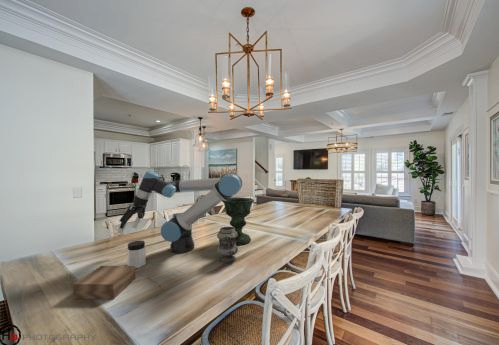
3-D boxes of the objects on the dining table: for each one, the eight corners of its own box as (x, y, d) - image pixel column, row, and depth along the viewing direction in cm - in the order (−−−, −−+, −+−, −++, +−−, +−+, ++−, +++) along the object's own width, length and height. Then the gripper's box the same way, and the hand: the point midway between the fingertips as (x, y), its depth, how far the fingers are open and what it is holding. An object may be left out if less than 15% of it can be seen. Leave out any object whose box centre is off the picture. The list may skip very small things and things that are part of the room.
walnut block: (135, 278, 101) (135, 265, 101) (113, 299, 85) (113, 284, 85) (101, 278, 101) (101, 265, 101) (73, 299, 85) (73, 284, 85)
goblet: (257, 245, 146) (257, 201, 145) (224, 248, 140) (224, 202, 140) (249, 235, 167) (249, 196, 166) (220, 237, 162) (220, 197, 161)
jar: (124, 269, 110) (124, 246, 110) (129, 262, 118) (129, 241, 118) (143, 267, 112) (143, 244, 112) (147, 261, 120) (147, 239, 120)
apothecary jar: (224, 253, 131) (224, 224, 130) (241, 257, 125) (241, 226, 125) (212, 261, 120) (212, 229, 120) (231, 265, 115) (231, 232, 114)
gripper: (148, 193, 138) (134, 223, 138) (122, 195, 113) (106, 232, 113) (158, 197, 137) (144, 228, 137) (135, 201, 113) (118, 238, 112)
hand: (127, 230), depth 125 cm, fingers open, 13 cm apart
